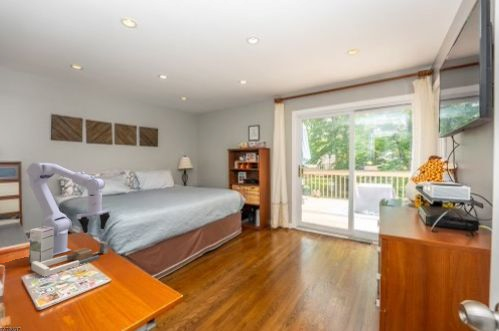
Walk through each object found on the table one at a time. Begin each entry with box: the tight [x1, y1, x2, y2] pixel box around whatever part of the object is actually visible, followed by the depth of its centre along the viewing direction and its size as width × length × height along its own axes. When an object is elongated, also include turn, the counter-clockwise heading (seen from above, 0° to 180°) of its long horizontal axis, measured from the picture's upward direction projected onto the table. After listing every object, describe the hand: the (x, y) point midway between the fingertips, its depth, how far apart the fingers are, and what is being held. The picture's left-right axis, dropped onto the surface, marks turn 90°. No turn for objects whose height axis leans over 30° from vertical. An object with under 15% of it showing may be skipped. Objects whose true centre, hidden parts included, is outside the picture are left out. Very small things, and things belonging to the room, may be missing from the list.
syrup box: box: [29, 225, 54, 264], centre depth 98 cm, size 6×6×14 cm
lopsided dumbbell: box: [72, 240, 109, 262], centre depth 104 cm, size 6×12×5 cm, turn 152°
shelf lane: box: [30, 254, 79, 278], centre depth 92 cm, size 12×12×3 cm
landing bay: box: [66, 253, 100, 266], centre depth 101 cm, size 12×8×2 cm, turn 62°
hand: (94, 230), depth 109 cm, fingers open, 7 cm apart
